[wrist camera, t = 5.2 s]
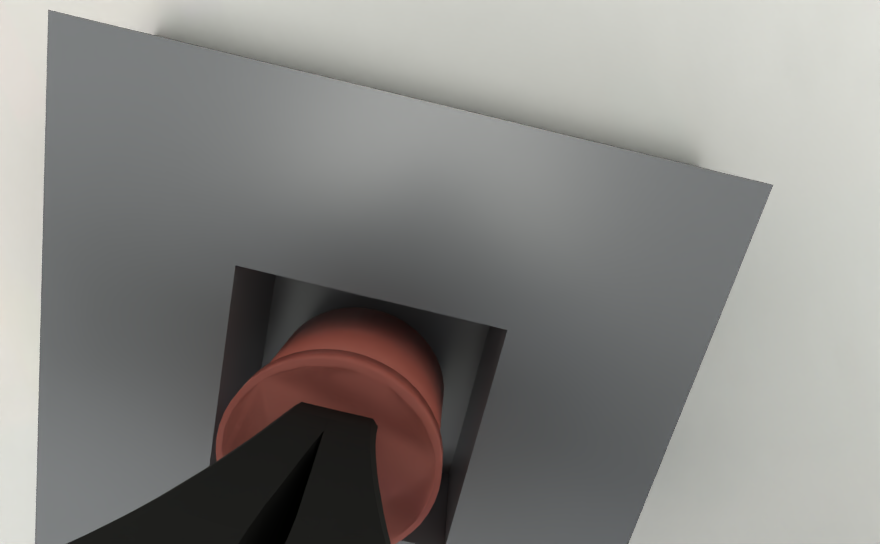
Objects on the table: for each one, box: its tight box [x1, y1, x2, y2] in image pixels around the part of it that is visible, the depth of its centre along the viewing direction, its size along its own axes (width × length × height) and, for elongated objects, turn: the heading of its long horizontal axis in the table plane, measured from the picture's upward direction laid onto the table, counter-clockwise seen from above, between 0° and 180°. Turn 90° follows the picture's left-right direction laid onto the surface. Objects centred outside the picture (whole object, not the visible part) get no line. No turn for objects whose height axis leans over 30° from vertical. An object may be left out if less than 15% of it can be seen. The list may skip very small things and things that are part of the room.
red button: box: [216, 307, 444, 544], centre depth 11 cm, size 4×4×3 cm
